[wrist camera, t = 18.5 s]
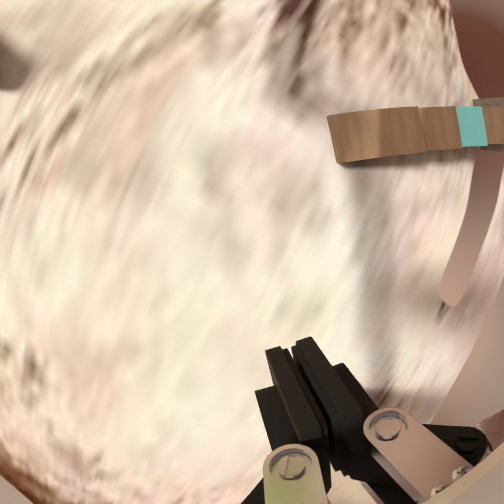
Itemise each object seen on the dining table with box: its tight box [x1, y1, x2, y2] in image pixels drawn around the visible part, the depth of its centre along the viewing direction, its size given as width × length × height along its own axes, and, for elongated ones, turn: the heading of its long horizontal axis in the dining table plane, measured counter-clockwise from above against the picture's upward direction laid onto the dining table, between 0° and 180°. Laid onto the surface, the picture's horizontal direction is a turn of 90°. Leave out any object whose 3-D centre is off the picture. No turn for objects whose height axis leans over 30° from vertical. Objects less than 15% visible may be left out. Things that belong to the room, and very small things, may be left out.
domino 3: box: [456, 107, 488, 147], centre depth 27 cm, size 2×5×10 cm
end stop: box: [473, 98, 504, 151], centre depth 29 cm, size 8×3×7 cm, turn 14°
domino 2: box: [418, 106, 463, 151], centre depth 27 cm, size 2×5×10 cm
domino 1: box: [327, 106, 426, 163], centre depth 27 cm, size 2×5×10 cm
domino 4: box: [482, 107, 504, 144], centre depth 27 cm, size 2×5×10 cm
